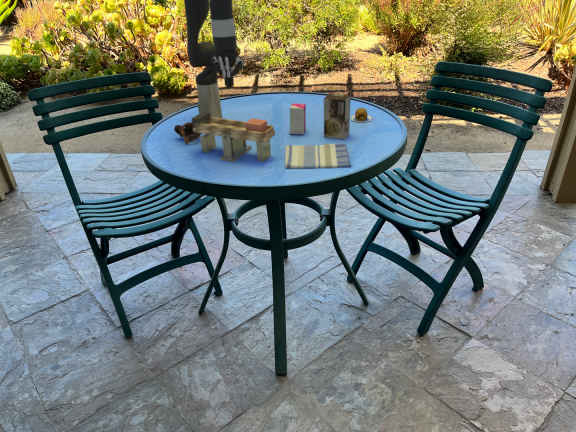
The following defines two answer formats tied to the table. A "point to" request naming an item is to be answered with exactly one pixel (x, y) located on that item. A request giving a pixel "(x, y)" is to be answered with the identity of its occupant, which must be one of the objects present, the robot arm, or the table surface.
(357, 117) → the hamburger
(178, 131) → the pottery mug
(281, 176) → the table surface
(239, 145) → the stand
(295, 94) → the table surface
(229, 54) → the robot arm
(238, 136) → the beam
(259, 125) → the block
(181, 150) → the table surface
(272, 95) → the table surface
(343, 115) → the coffee box
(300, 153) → the dish towel
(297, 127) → the supplement box
